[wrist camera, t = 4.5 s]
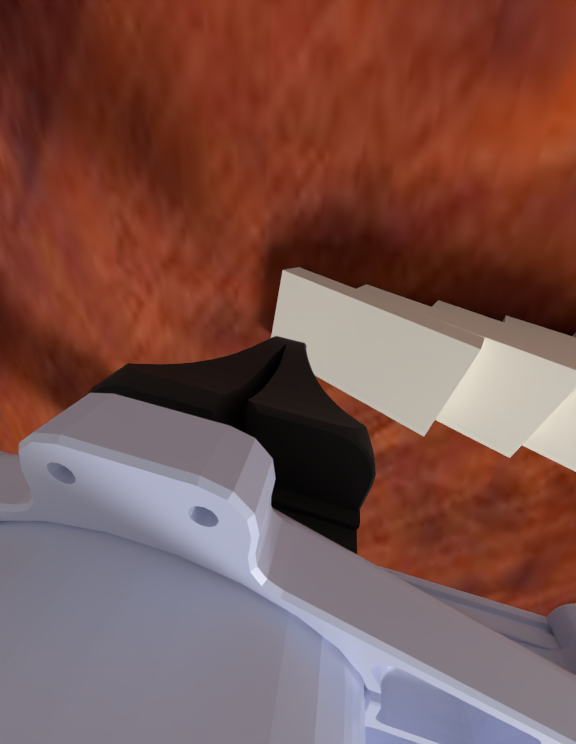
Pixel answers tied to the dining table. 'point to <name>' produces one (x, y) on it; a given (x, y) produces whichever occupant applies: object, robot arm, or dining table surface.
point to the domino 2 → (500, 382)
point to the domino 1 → (374, 347)
